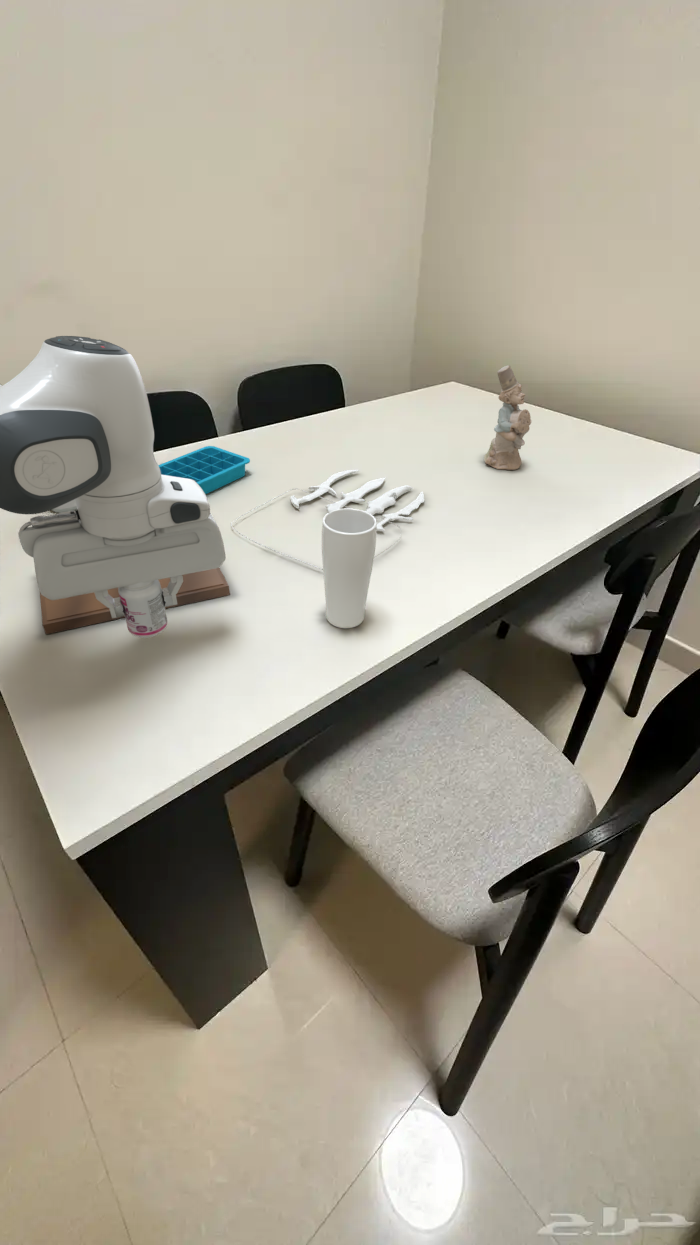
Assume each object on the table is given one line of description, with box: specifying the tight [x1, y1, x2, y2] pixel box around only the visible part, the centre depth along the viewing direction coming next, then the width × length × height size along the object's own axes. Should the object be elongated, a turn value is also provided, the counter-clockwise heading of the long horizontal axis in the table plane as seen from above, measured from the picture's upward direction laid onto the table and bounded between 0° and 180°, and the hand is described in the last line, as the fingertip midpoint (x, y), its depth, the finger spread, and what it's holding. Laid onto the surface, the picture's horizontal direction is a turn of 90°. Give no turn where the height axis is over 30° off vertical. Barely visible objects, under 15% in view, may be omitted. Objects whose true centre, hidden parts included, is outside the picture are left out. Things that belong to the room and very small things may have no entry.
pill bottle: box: [118, 580, 169, 639], centre depth 69 cm, size 5×5×8 cm
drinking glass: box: [321, 507, 378, 629], centre depth 75 cm, size 7×7×15 cm
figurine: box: [483, 364, 533, 471], centre depth 119 cm, size 9×8×20 cm
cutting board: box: [39, 567, 231, 635], centre depth 83 cm, size 24×14×2 cm, turn 115°
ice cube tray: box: [158, 445, 251, 495], centre depth 110 cm, size 12×20×3 cm, turn 146°
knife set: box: [230, 469, 425, 571], centre depth 102 cm, size 26×35×1 cm
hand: (144, 608), depth 70 cm, fingers closed on pill bottle, 5 cm apart
